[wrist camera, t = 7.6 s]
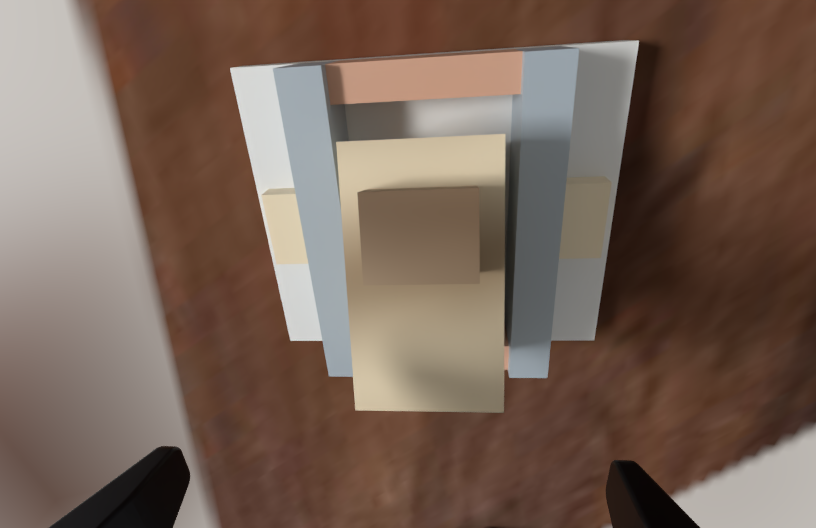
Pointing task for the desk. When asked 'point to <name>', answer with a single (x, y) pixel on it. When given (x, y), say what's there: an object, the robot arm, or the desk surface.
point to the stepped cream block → (425, 271)
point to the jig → (443, 117)
